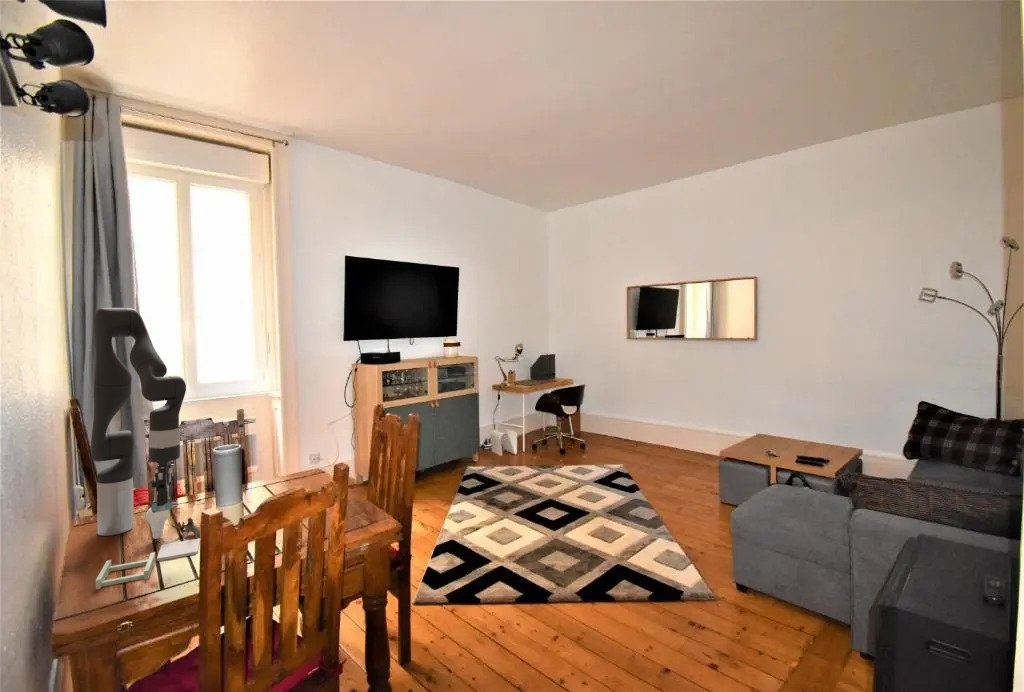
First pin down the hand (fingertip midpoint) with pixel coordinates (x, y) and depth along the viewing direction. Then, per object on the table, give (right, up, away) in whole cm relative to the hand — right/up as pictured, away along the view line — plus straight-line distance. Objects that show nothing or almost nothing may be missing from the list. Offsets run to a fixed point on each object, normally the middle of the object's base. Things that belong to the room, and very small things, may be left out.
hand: (164, 500), depth 141 cm
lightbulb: (-11, -17, +12) cm, 23 cm away
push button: (0, -3, 0) cm, 3 cm away
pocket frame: (-3, -17, -10) cm, 20 cm away
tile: (+1, -17, +4) cm, 18 cm away
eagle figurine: (-2, -17, +14) cm, 22 cm away
